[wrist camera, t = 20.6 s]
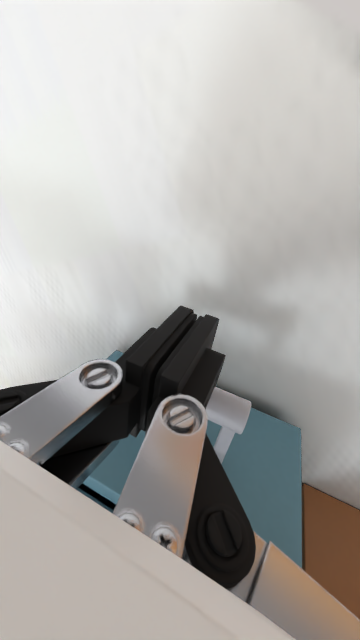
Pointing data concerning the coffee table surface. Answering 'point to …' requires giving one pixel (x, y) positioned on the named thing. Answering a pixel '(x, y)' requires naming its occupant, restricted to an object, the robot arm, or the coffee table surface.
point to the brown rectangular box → (332, 546)
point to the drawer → (233, 467)
